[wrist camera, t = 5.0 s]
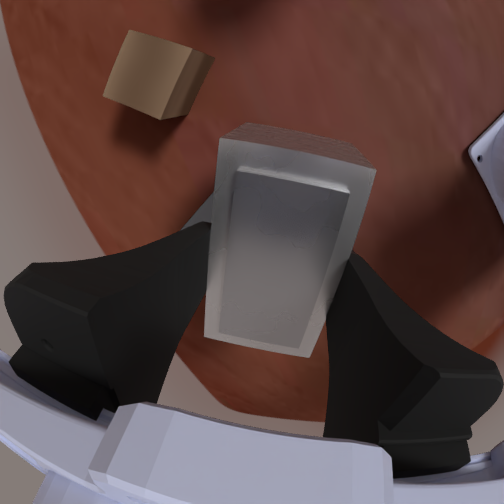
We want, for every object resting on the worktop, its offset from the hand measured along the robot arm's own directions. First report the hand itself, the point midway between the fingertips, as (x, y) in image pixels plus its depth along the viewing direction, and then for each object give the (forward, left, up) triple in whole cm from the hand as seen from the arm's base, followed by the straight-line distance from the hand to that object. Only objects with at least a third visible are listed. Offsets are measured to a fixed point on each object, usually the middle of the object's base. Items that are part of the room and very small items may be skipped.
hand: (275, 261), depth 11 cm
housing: (0, 0, -4) cm, 4 cm away
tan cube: (+10, -1, -9) cm, 13 cm away
